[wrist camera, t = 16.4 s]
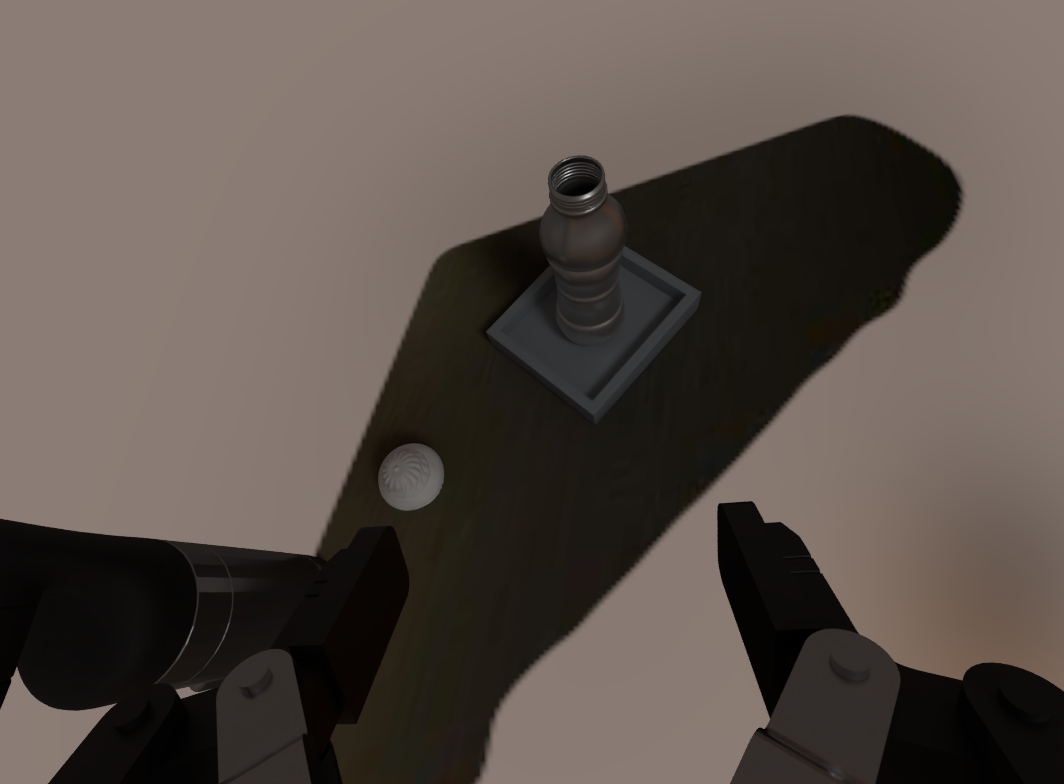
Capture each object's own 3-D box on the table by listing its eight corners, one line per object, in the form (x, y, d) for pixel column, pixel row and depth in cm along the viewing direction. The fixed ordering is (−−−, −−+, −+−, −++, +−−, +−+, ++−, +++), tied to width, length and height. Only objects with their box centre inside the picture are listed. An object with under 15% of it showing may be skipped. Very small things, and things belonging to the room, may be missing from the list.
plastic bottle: (556, 302, 53) (521, 149, 34) (621, 292, 52) (621, 130, 34) (561, 357, 50) (527, 224, 32) (630, 348, 49) (635, 206, 31)
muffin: (467, 476, 49) (444, 459, 42) (427, 529, 47) (396, 519, 41) (422, 440, 51) (393, 419, 44) (382, 490, 49) (346, 475, 43)
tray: (595, 425, 48) (593, 415, 46) (492, 345, 53) (485, 331, 51) (697, 308, 51) (701, 292, 48) (590, 242, 56) (588, 224, 53)
